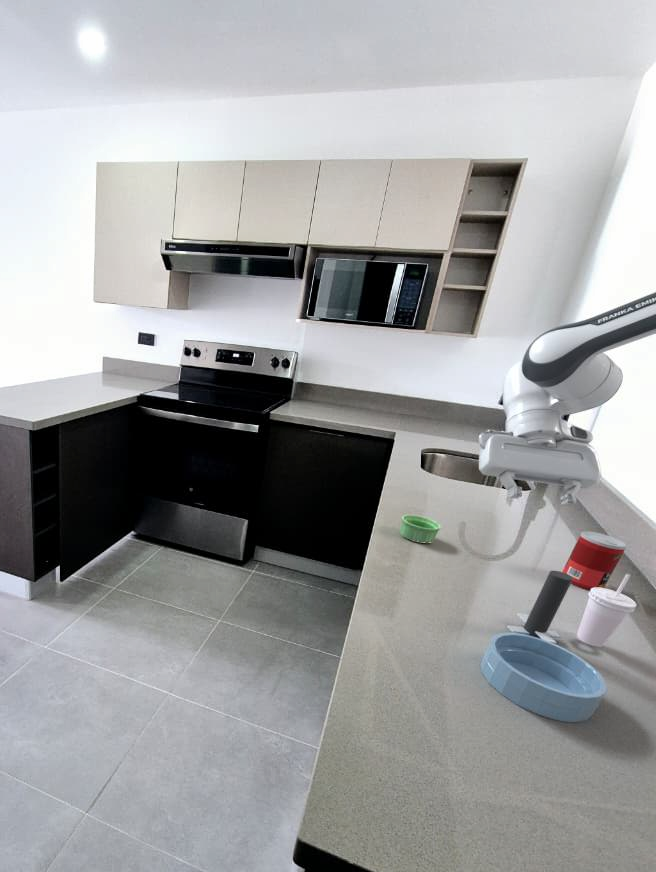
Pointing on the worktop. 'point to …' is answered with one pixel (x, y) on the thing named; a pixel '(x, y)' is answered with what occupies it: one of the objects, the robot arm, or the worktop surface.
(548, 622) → the black cylinder
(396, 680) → the worktop surface
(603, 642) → the smoothie
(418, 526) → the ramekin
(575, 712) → the shallow blue bowl
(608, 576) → the canned food
